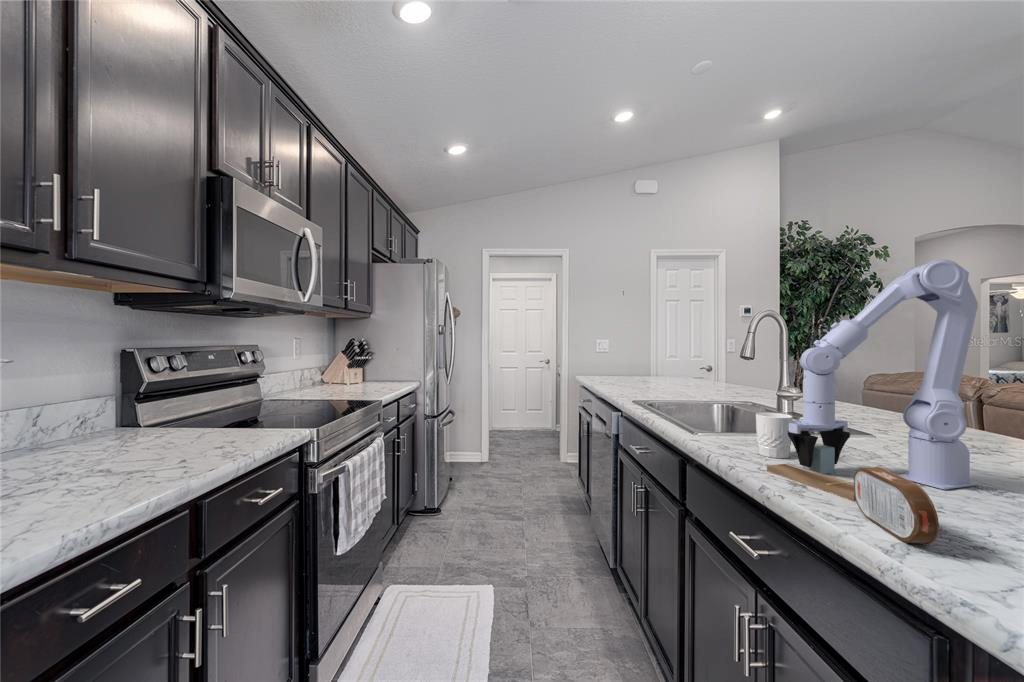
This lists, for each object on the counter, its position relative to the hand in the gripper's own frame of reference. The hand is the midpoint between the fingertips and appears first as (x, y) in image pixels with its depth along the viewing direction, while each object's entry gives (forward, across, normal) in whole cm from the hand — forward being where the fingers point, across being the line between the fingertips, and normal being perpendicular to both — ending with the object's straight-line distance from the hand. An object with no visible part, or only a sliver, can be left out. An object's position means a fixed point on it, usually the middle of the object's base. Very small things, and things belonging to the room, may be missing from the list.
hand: (818, 464), depth 93 cm
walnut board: (+1, +8, +6) cm, 10 cm away
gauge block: (+2, 0, 0) cm, 2 cm away
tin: (+2, +18, +25) cm, 31 cm away
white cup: (+2, -2, -13) cm, 13 cm away
